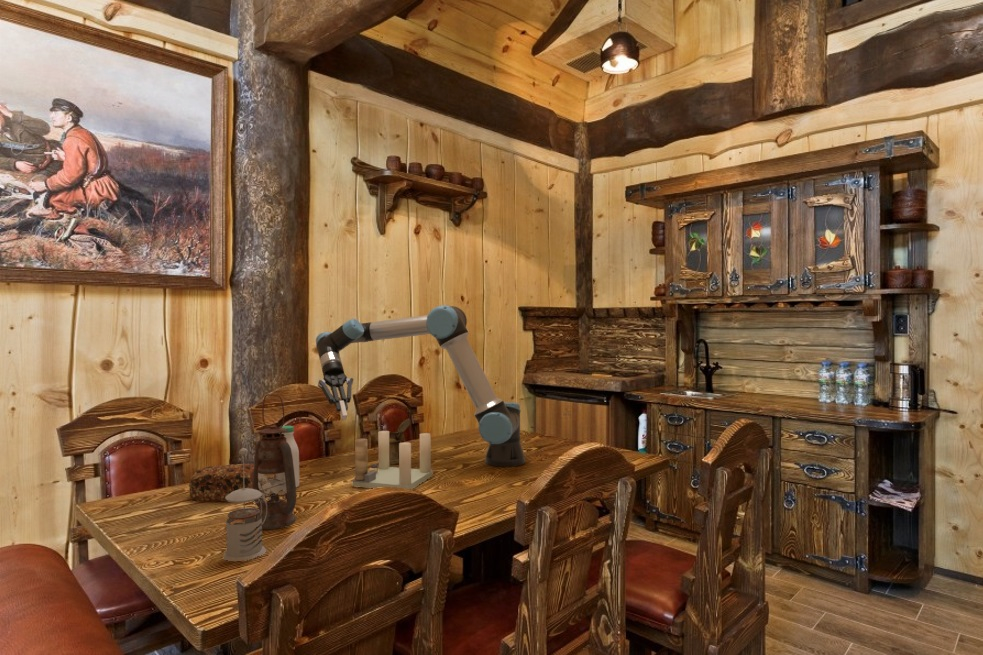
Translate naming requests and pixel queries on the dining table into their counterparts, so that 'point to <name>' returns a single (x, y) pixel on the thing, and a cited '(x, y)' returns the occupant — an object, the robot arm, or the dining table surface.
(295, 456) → the milk bottle
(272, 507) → the lantern
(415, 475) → the stool top
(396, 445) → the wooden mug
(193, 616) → the dining table surface
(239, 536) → the french press
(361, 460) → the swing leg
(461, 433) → the dining table surface
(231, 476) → the bread
